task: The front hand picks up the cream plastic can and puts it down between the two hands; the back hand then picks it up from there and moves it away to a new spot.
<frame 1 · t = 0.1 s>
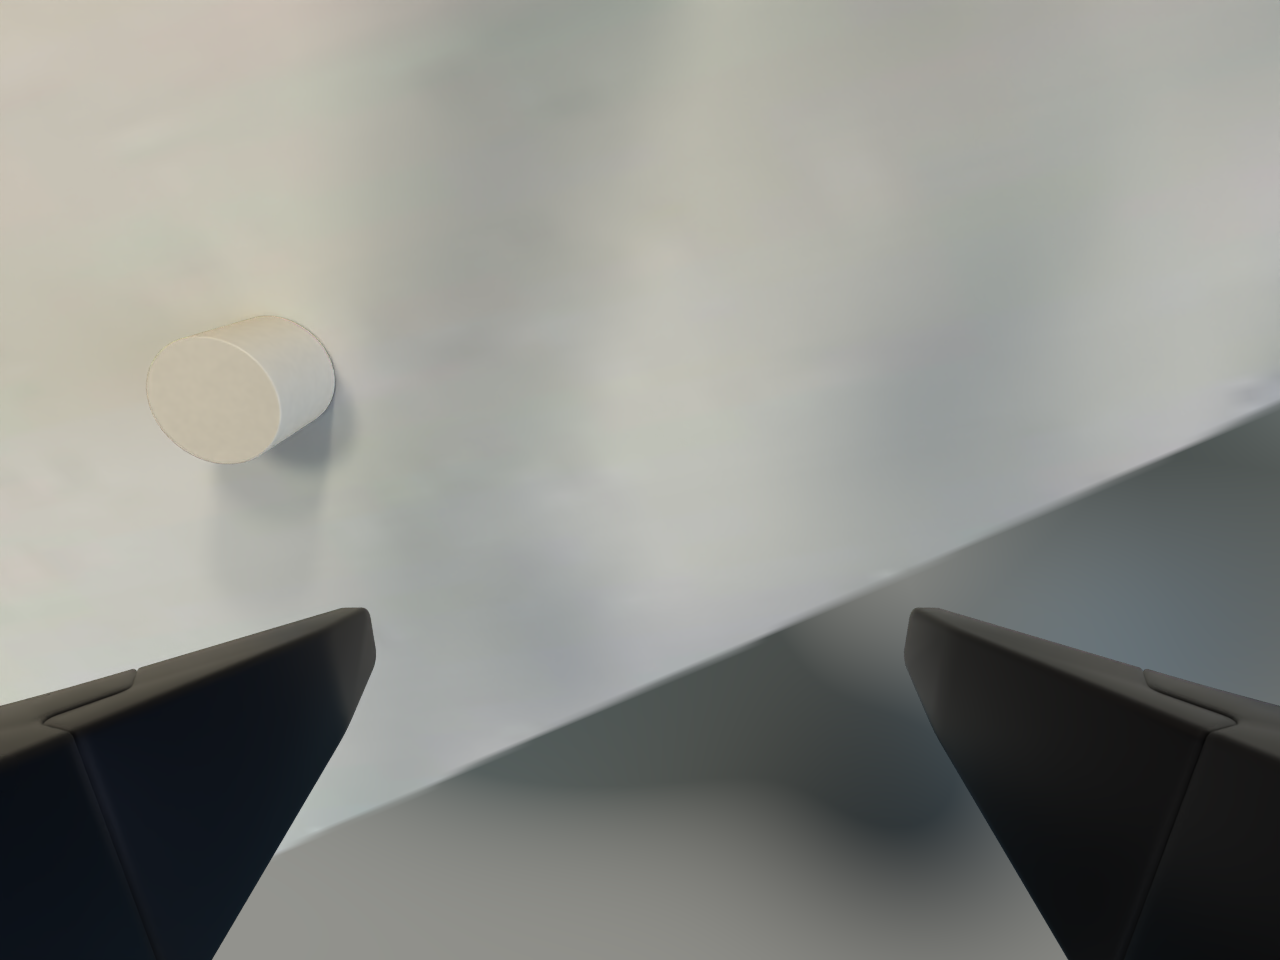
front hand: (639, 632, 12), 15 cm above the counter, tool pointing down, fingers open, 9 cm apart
can: (278, 372, 25), on the counter
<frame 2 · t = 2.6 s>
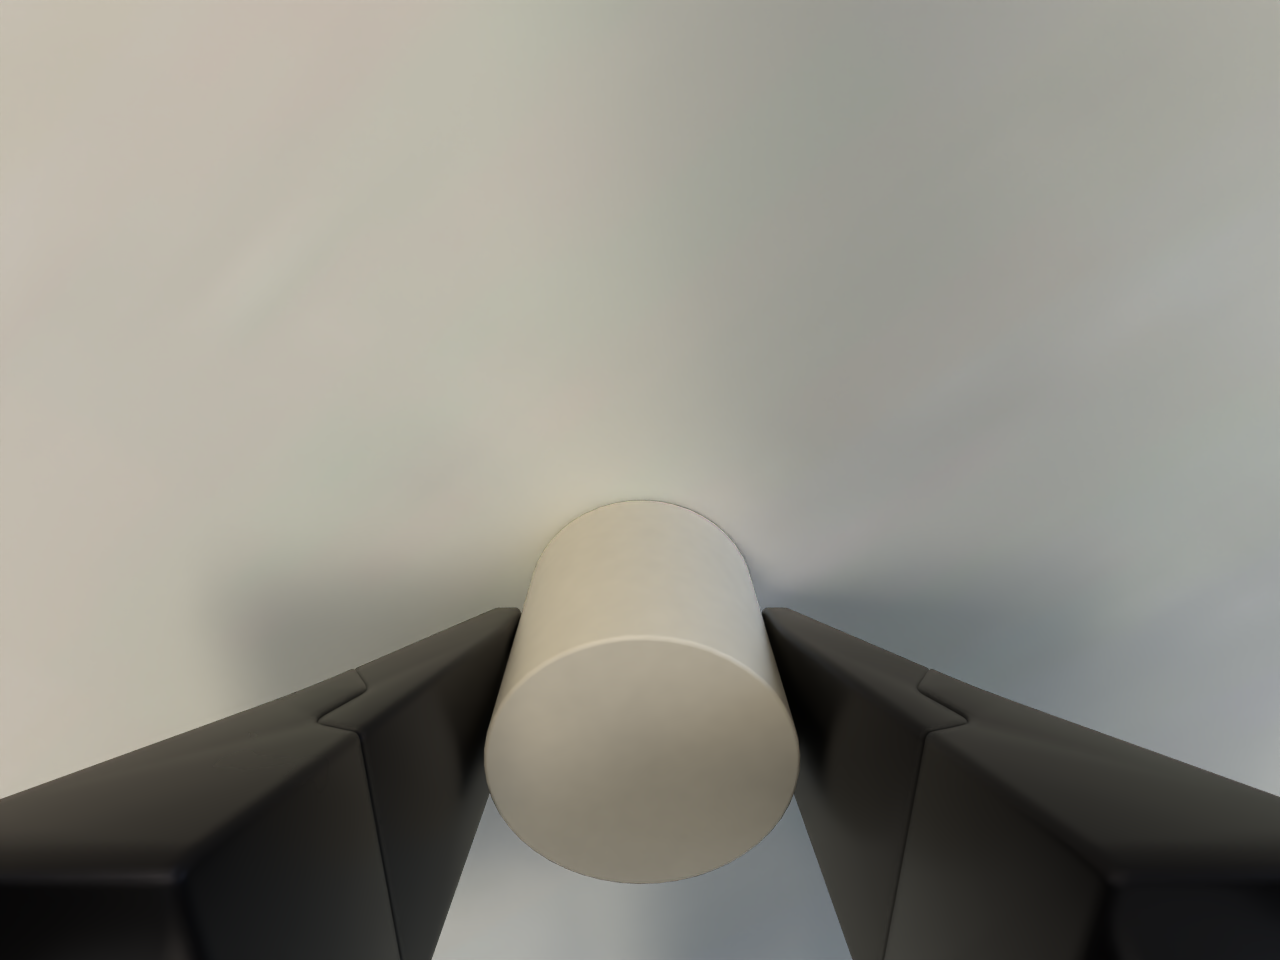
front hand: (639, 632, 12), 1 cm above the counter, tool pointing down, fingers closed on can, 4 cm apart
can: (641, 601, 13), on the counter, touching front hand
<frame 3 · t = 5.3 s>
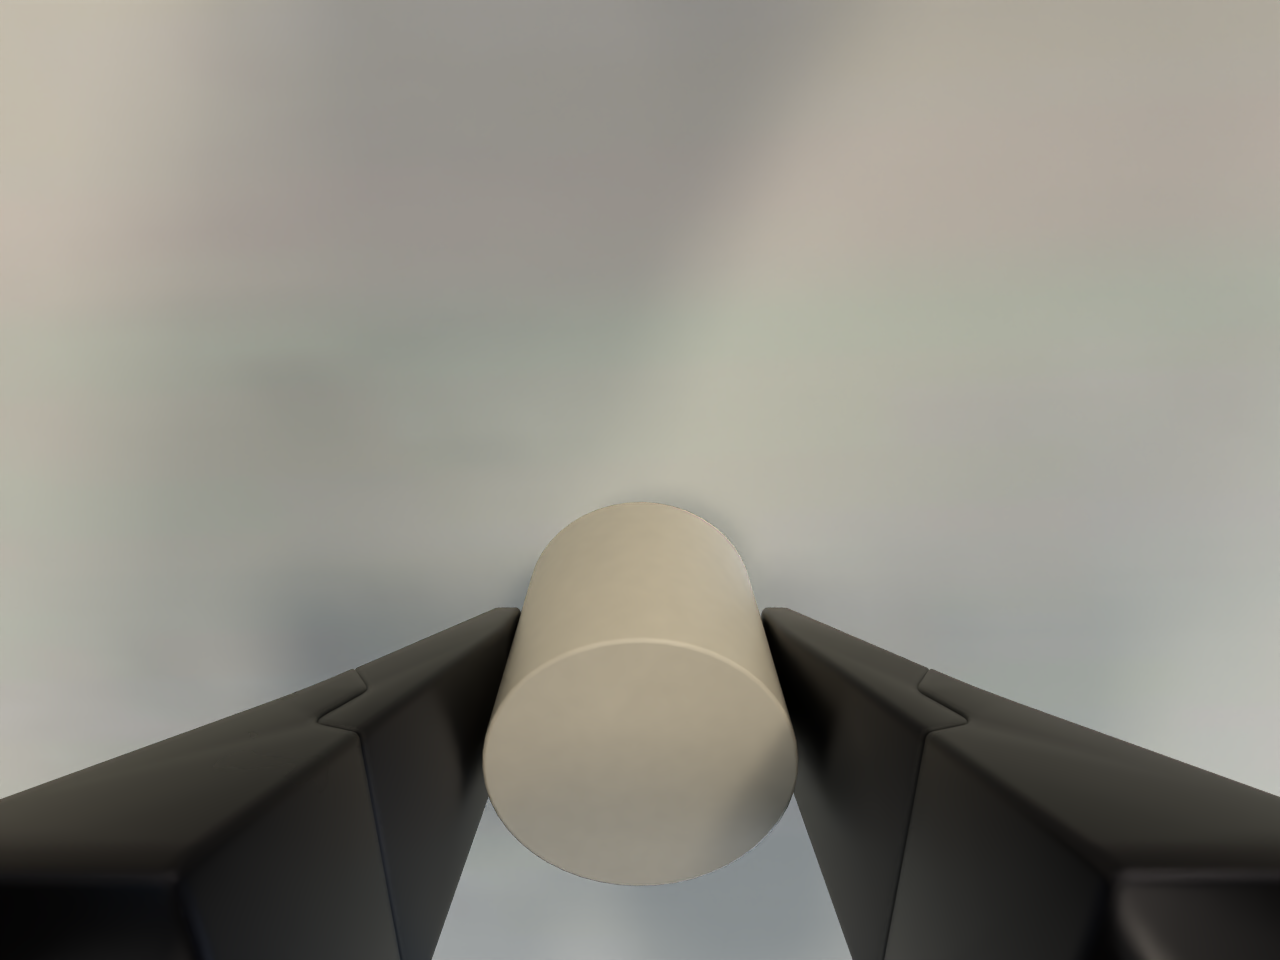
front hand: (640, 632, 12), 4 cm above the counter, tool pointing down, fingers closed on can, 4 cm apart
can: (640, 602, 13), point 3 cm above the counter, touching front hand
when the front hand's fingers open (2 cm above the counter, at t = 8.2 s): can drops 1 cm, on the counter.
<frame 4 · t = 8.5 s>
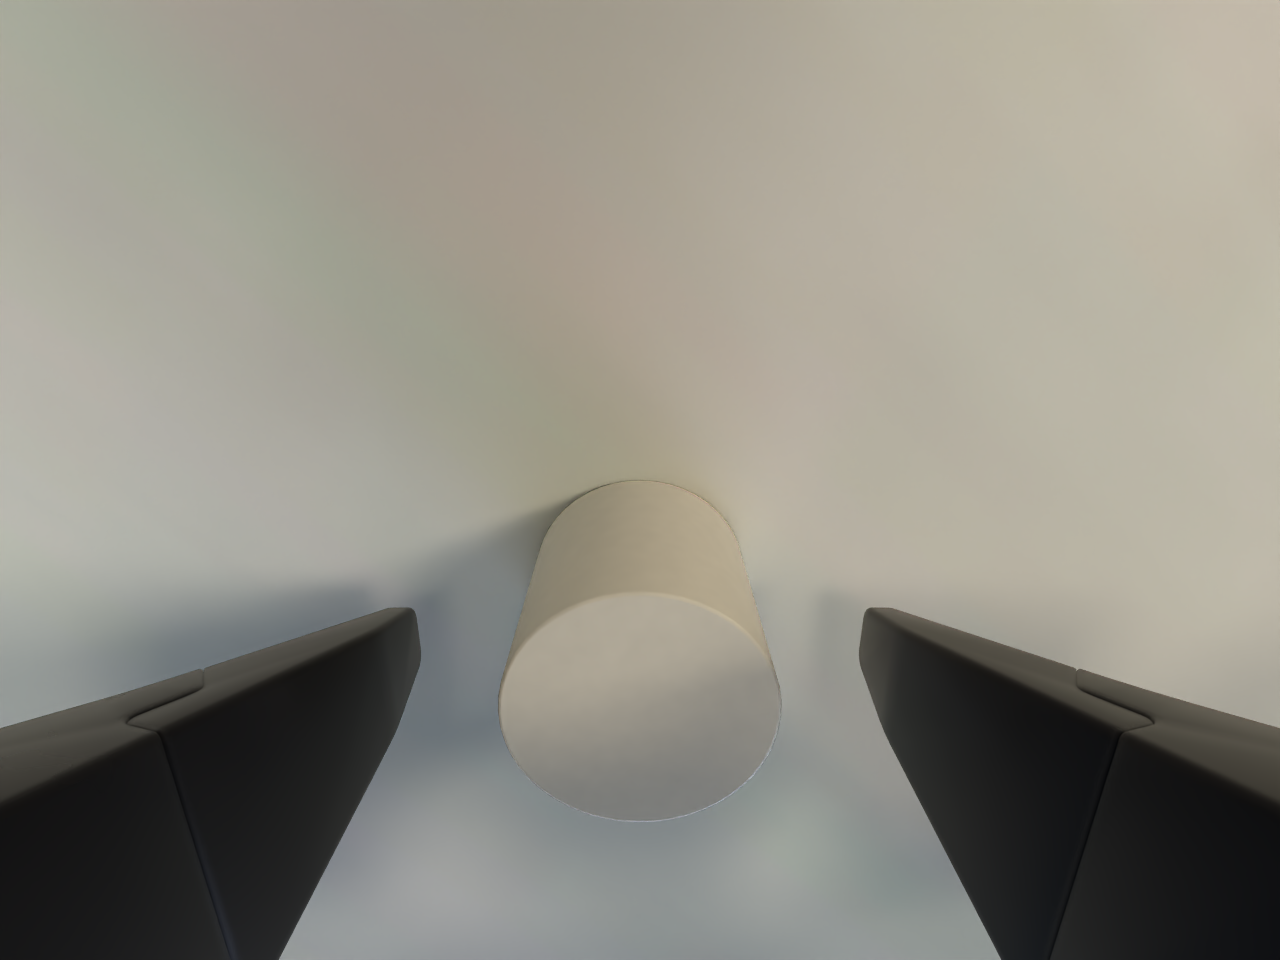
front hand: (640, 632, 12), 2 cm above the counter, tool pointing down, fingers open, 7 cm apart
can: (639, 574, 14), on the counter
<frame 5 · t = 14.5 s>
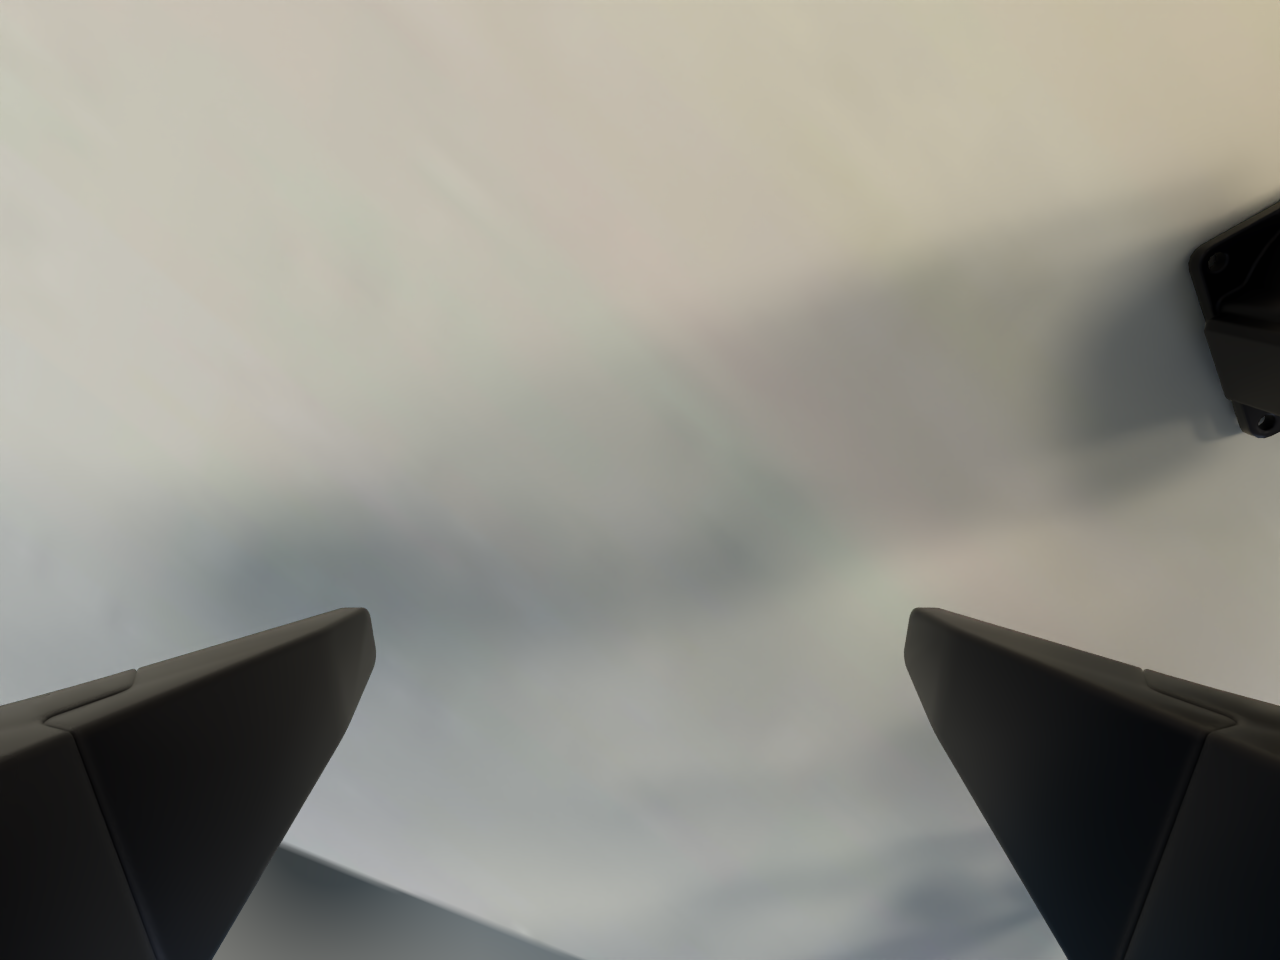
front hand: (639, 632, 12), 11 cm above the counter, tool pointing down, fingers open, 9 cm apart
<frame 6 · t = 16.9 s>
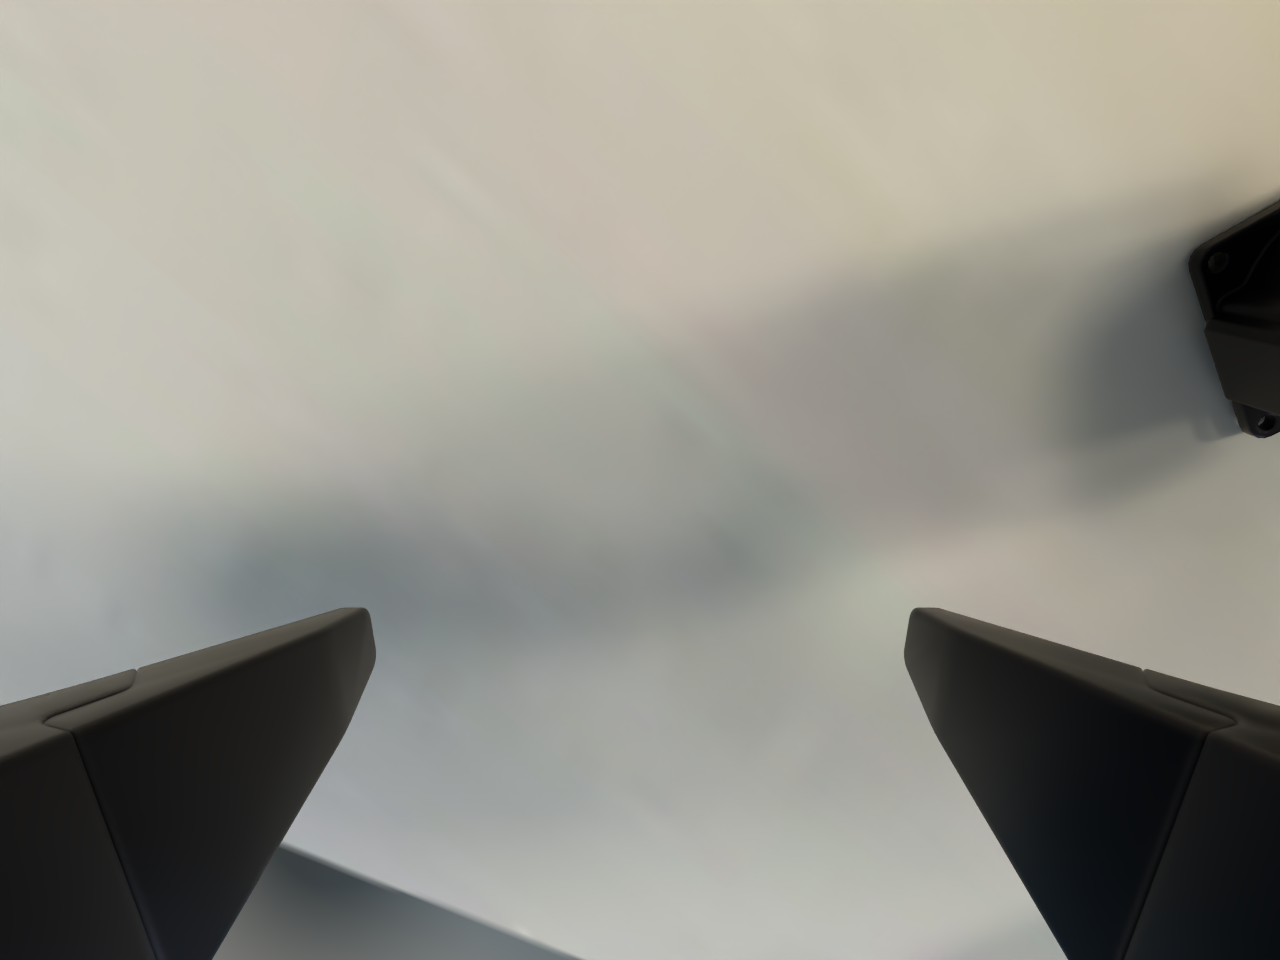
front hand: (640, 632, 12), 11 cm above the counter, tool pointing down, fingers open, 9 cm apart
when the back hand's fingers open (2 cm above the counter, at t = 19.2 s): can drops 1 cm, on the counter.
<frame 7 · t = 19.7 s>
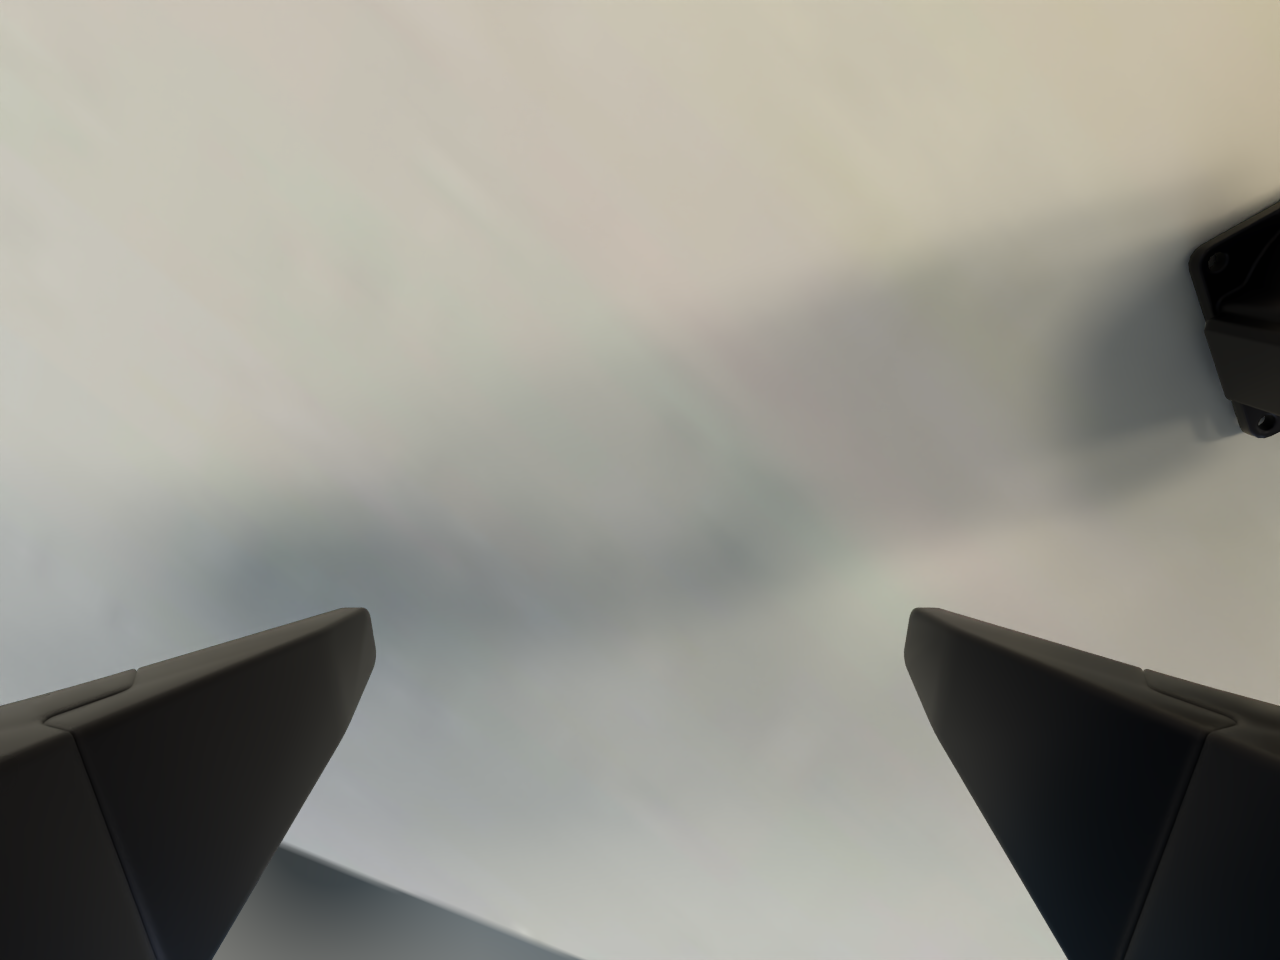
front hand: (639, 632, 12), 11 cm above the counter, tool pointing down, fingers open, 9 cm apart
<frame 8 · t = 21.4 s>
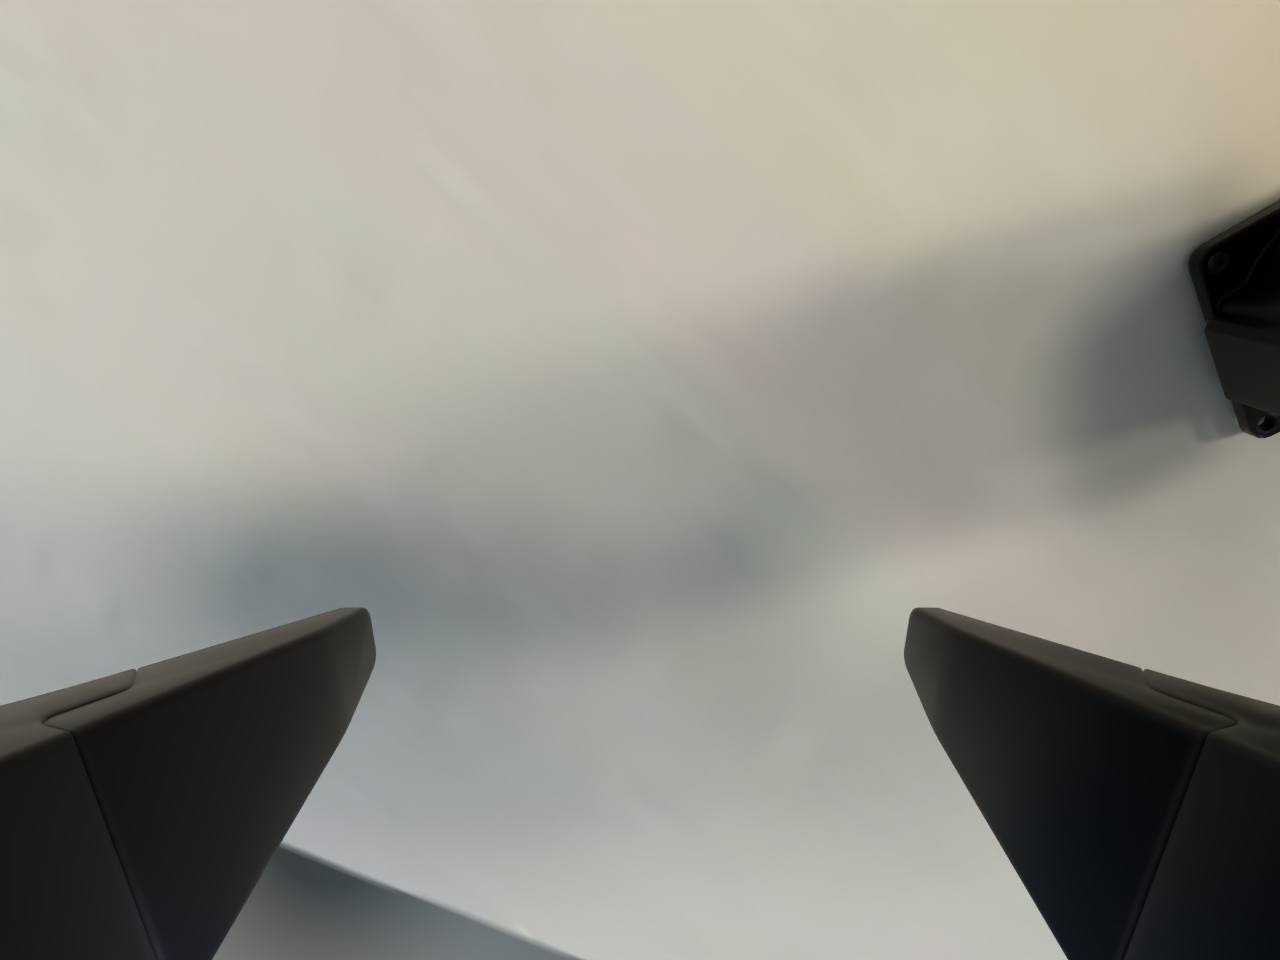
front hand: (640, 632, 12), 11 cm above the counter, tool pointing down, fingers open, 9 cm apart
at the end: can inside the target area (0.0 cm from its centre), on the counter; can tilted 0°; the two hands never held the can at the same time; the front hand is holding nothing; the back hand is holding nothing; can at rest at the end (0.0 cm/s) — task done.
